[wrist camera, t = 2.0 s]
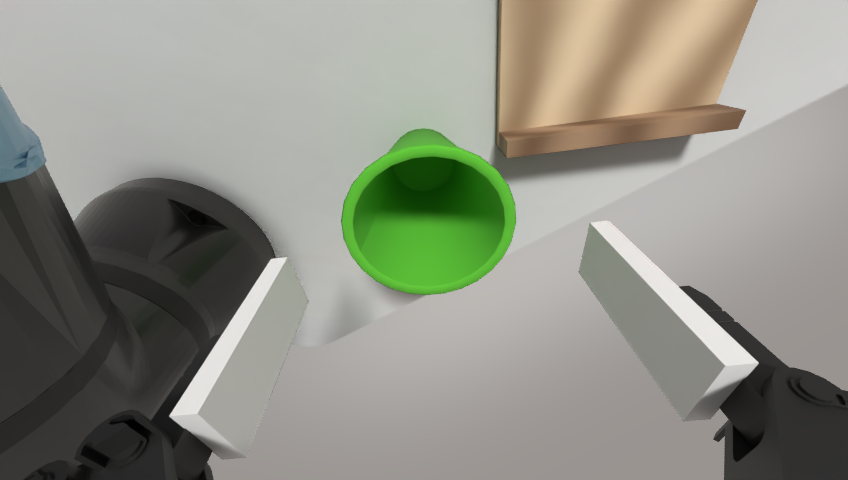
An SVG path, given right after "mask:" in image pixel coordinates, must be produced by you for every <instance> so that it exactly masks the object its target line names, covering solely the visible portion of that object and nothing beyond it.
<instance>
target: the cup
mask: <svg viewBox="0 0 848 480" xmlns="http://www.w3.org/2000/svg"><path fill="white" fill-rule="evenodd" d="M341 223H342V230H343V237H344V240H345V243H346V245H347V247H348V249H349V251H350V254H351V256H352V257H353V259H354V260H355V261H356V262H357V264H358V265H359V266H360V267H361V269H362V270H363V271H364V272H366V273H367V274H368V275H369V276H371V277H372V278H373V279H375V280H376V281H377V282H379V283H381V284H384V285H386V286H388V287H390V288H392V289H395V290H399V291H402V292H406V293H411V294H423V295H430V294H441V293H447V292H451V291H454V290H458V289H462V288H464V287H466V286H468V285H470V284H472V283H474V282H476V281H478V280H479V279H481V278H482V277H483V276H484V275H486V274H487V273H489V272H490V271H491V270H492V269H493V268H494V267H495V266H496V265H497V263H498V262H499V261H500V260H501V259H502V258H503V256H504V254H505V253H506V251H507V249H508V247H509V245H510V243H511V241H512V237H513V233H514V229H515V224H516V212H515V202H514V199H513V197H512V194H511V191H510V188H509V186H508V184H507V183H506V181H505V180H504V179H503V177H502V176H501V175H500V173H499V172H498V170H497V169H495V168H494V167H493V166H492V165H490V164H489V163H488V162H486V161H485V160H484V159H483V158H481V157H480V156H478V155H476V154H473V153H471V152H469V151H466V150H464V149H461V148H459V147H457V146H456V145H455V144H453V143H452V142H451V141H450V140H448V139H447V138H446V137H445V136H443V135H442V134H441V133H439V132H437V131H434V130H431V129H416V130H413V131H410V132H408V133H406V134H405V135H403V136H402V137H401V138H400V139H399V140H398V141H397V142H396V143H395V145H394V146H393V147H392V148H391V149H390V151H389V152H388V153H387V154H385V155H384V156H382V157H381V158H379V159H378V160H376V161H375V162H374V163H372V164H371V165H369V166H368V167H366V168H365V170H364V171H363V172H362V173H361V174H360V175H359V177H358V178H357V179H356V180H355V181H354V182H353V184H352V186H351V188H350V190H349V192H348V194H347V196H346V199H345V201H344V205H343V212H342V219H341Z"/></svg>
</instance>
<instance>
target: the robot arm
mask: <svg viewBox="0 0 848 480" xmlns="http://www.w3.org/2000/svg"><path fill="white" fill-rule="evenodd" d="M45 162H46V159H45V157H44V152H43V149H42V146H41V143H40V140H39V138H38V136H37V135H36V134H35V133H34V132H33V131H32V130H31V129H30V128H29V127H28V126H26V125H25V124H23V123H22V122H21V120H20V118H19V117H18V115H17V113H16V111H15V110H14V108H13V106H12V104H11V103H10V101H9V99H8V97H7V96H6V94H5V92H4V90H3V89H2V87H1V85H0V480H213V475H212V471H211V468H210V466H209V465H208V463H207V461H208V459H209V457H210V455H211V453H212V452H214V453H215V454H216V455H217V456H218V457H220V458H221V459H233V458H245V457H246V456H247V453H248V451H249V448H250V446H251V443H252V441H253V438H254V436H255V433H256V431H257V428H258V426H259V424H260V421H261V418H262V416H263V414H264V411H265V409H266V406H267V403H268V401H269V399H270V396H271V393H272V391H273V389H274V386H275V383H276V381H277V378H278V376H279V374H280V371H281V369H282V366H283V364H284V361H285V359H286V356H287V354H288V351H289V349H290V346H291V344H292V341H293V339H294V336H295V334H296V331H297V329H298V326H299V324H300V321H301V319H302V316H303V314H304V311H305V309H306V306H307V304H308V302H309V300H308V298H307V296H306V294H305V292H304V290H303V288H302V286H301V284H300V282H299V279H298V277H297V275H296V273H295V271H294V269H293V267H292V265H291V263H290V261H289V259H288V257H283V258H275V257H274V254H273V251H272V248H271V246H270V244H269V242H268V240H267V238H266V237H265V235H264V233H263V232H262V231H261V229H260V228H259V227H258V226H257V225H256V223H255V222H254V221H253V220H252V219H251V218H250V217H249V216H247V215H246V214H245V213H244V212H243V211H242V210H240V209H239V208H238V207H236V206H235V205H234V204H232V203H231V202H229V201H227V200H226V199H224V198H222V197H221V196H219V195H217V194H215V193H213V192H211V191H208V190H206V189H204V188H201V187H198V186H196V185H193V184H189V183H186V182H182V181H177V180H171V179H163V178H145V179H138V180H133V181H129V182H126V183H124V184H121V185H119V186H117V187H115V188H113V189H112V190H110V191H108V192H106V193H104V194H102V195H100V196H98V197H97V198H95V199H94V200H93V201H91V202H90V203H89V204H88V205H87V206H86V207H85V208H84V209H83V210H82V211H81V213H80V214H79V215H78V216H77V218H76V219H75V220H74V221H73V220H72V218H71V216H70V214H69V212H68V210H67V208H66V206H65V204H64V202H63V200H62V198H61V196H60V194H59V192H58V190H57V188H56V186H55V184H54V182H53V180H52V178H51V176H50V174H49V172H48V170H47V168H46V166H45ZM579 273H580V275H581V276H582V278H583V279H584V281H585V282H586V283H587V285H588V286H589V288H590V289H591V291H592V292H593V293H594V295H595V296H596V298H597V299H598V300H599V302H600V303H601V305H602V306H603V308H604V309H605V311H606V312H607V313H608V315H609V316H610V318H611V319H612V321H613V322H614V324H615V325H616V326H617V328H618V329H619V331H620V332H621V333H622V335H623V336H624V337H625V339H626V341H627V342H628V344H629V345H630V346H631V348H632V349H633V351H634V352H635V354H636V355H637V356H638V358H639V359H640V361H641V362H642V363H643V365H644V366H645V368H646V369H647V371H648V372H649V374H650V375H651V376H652V378H653V379H654V381H655V382H656V384H657V385H658V386H659V388H660V389H661V391H662V392H663V394H664V395H665V396H666V398H667V399H668V401H669V402H670V404H671V405H672V406H673V408H674V409H675V411H676V412H677V414H678V415H679V417H680V418H681V419H682V421H693V420H705V419H711V417H713V415H714V414H715V413H716V412H717V410H719V408H720V409H721V410H722V412H723V413H724V414H725V415H726V416H727V418H728V419H729V420H728V421H727V422H726V423H725V424H724V425H723V426H722V427H721V428H720V429H719V430H718V431H717V433H716V434H715V437H714V440H715V441H718V442H719V441H720V440H721V439H722V438H723V437H724V436H725V462H724V463H725V465H724V480H848V391H844V390H841V389H840V388H838V387H837V386H835V385H834V384H832V383H831V382H829V381H827V380H826V379H824V378H822V377H820V376H817V375H815V374H813V373H811V372H808V371H805V370H800V369H797V368H789V367H788V366H787V365H785V364H784V363H783V362H782V361H781V360H779V359H778V358H777V357H776V356H775V355H774V354H773V353H772V352H770V351H769V350H768V349H767V348H766V347H765V346H764V345H762V344H761V343H760V342H759V341H758V340H757V339H756V338H755V337H753V336H752V335H751V334H750V333H749V332H748V331H747V330H745V329H744V328H743V327H742V326H741V325H740V324H739V323H738V322H734V319H733V318H732V317H731V316H730V315H729V314H727V313H726V312H725V311H722V309H721V307H719V306H718V305H717V304H716V303H715V302H714V301H713V300H711V299H710V298H709V297H708V296H707V295H705V294H703V293H701V292H699V291H697V290H696V289H694V288H692V287H690V286H681V287H678V286H677V285H676V284H675V283H674V282H673V281H672V280H671V279H670V278H669V277H668V276H666V275H665V274H664V273H663V272H662V271H661V270H660V269H659V268H658V267H657V266H656V265H655V264H654V263H653V262H652V261H651V260H649V258H647V257H646V256H645V255H644V254H643V253H642V252H641V251H640V250H639V249H638V248H637V247H636V246H635V245H634V244H633V243H631V242H630V241H629V240H628V239H627V238H626V237H625V236H624V235H623V234H622V233H621V232H620V231H619V230H618V229H617V228H616V227H615V226H614V225H613V224H612V223H610V222H609V221H601V222H591V223H590V225H589V229H588V234H587V238H586V243H585V247H584V251H583V255H582V260H581V264H580V269H579Z"/></svg>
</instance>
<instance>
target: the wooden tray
mask: <svg viewBox="0 0 848 480" xmlns="http://www.w3.org/2000/svg"><path fill="white" fill-rule="evenodd" d="M757 1H758V0H499V19H498V75H497V131H496V145H497V146H498V148H499V149H500V150H501V152H502V153H503V154H504V155H505V157H506V158H512V157H520V156H528V155H536V154H544V153H551V152H559V151H567V150H575V149H583V148H591V147H598V146H606V145H614V144H622V143H630V142H637V141H645V140H653V139H661V138H669V137H677V136H684V135H692V134H700V133H708V132H716V131H724V130H731V129H738V127H739V125H740V122H741V120H742V118H743V116H744V114H745V112H746V110H742V109H738V108H733V107H729V106H724V105H720V104H716V102H717V100H718V97H719V95H720V93H721V90H722V88H723V85H724V83H725V80H726V78H727V75H728V73H729V70H730V68H731V65H732V63H733V60H734V58H735V55H736V53H737V50H738V48H739V45H740V43H741V40H742V38H743V35H744V33H745V30H746V28H747V25H748V23H749V21H750V18H751V16H752V13H753V11H754V8H755V6H756V3H757Z"/></svg>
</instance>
